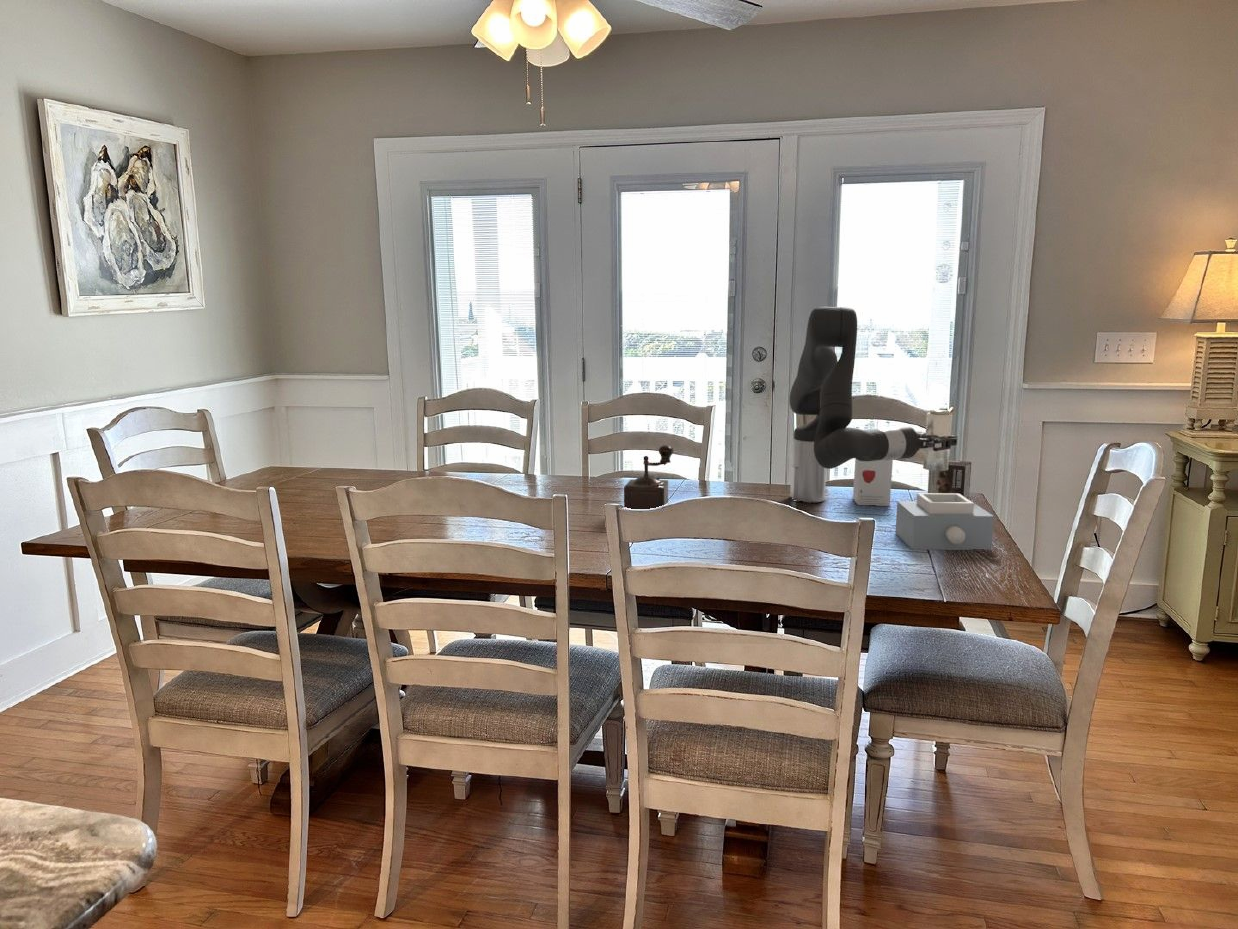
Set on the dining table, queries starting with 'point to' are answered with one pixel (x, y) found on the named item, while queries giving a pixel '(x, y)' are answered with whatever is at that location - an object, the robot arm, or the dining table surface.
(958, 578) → the dining table surface
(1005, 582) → the dining table surface
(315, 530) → the dining table surface
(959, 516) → the box
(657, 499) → the manual coffee grinder
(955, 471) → the coffee box
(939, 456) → the spout can
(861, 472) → the supplement box
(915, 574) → the dining table surface
